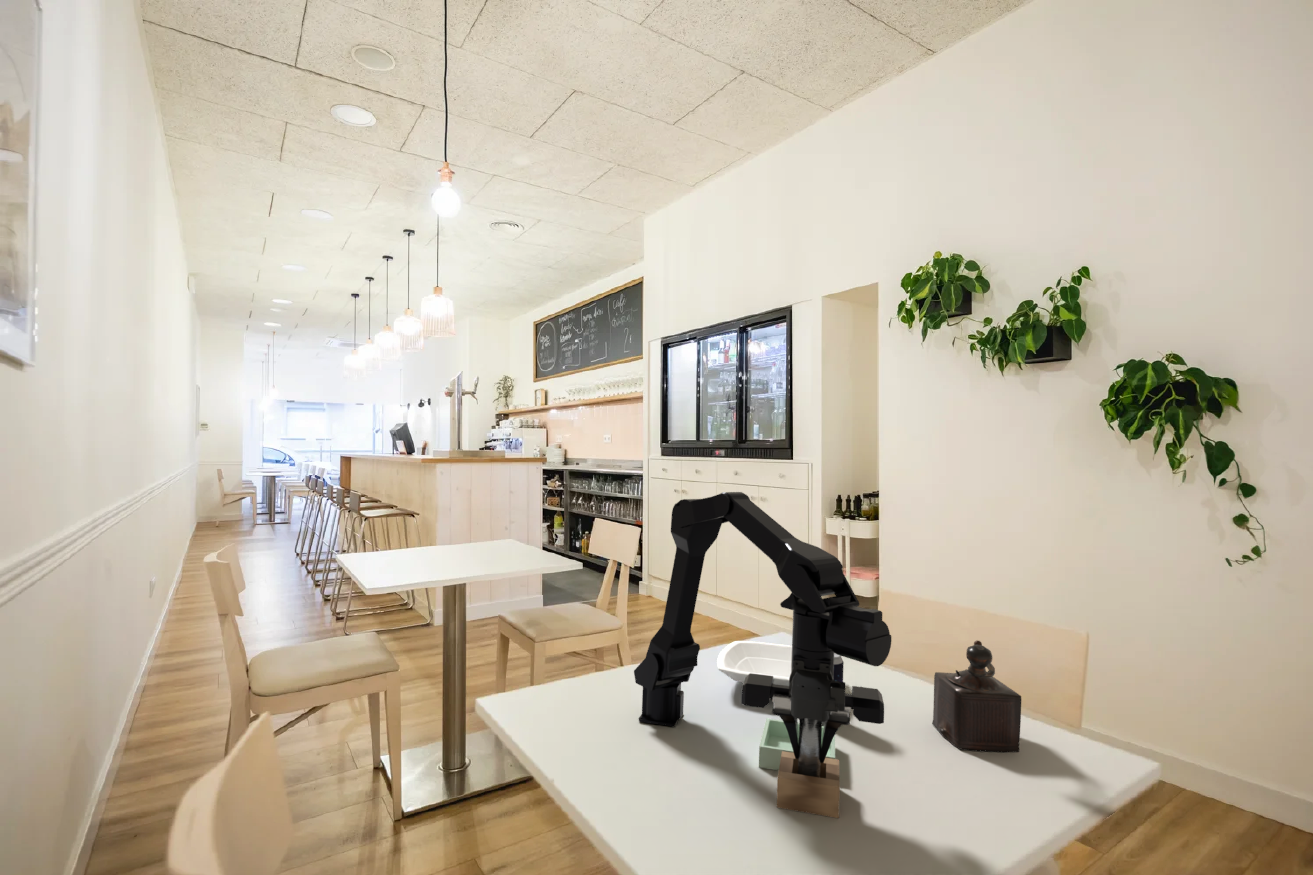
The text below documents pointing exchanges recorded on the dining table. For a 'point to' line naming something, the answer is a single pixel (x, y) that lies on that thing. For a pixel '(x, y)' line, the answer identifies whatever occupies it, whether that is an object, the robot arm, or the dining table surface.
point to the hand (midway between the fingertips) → (809, 759)
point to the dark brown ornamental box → (977, 706)
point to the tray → (780, 744)
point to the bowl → (756, 661)
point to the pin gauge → (809, 747)
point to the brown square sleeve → (808, 787)
